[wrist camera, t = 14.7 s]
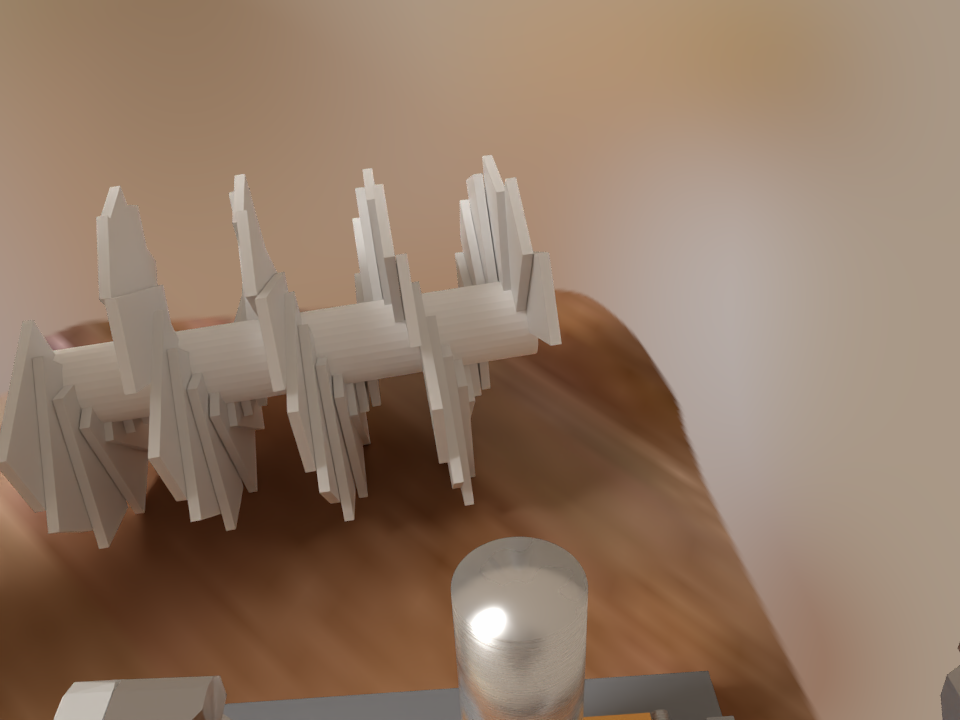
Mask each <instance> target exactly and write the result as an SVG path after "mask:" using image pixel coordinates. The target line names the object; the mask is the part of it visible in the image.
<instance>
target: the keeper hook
mask: <svg viewBox="0 0 960 720" xmlns="http://www.w3.org/2000/svg"><path fill="white" fill-rule="evenodd" d="M706 720H735V719H734V716H723V717H708V718H706Z"/></svg>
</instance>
